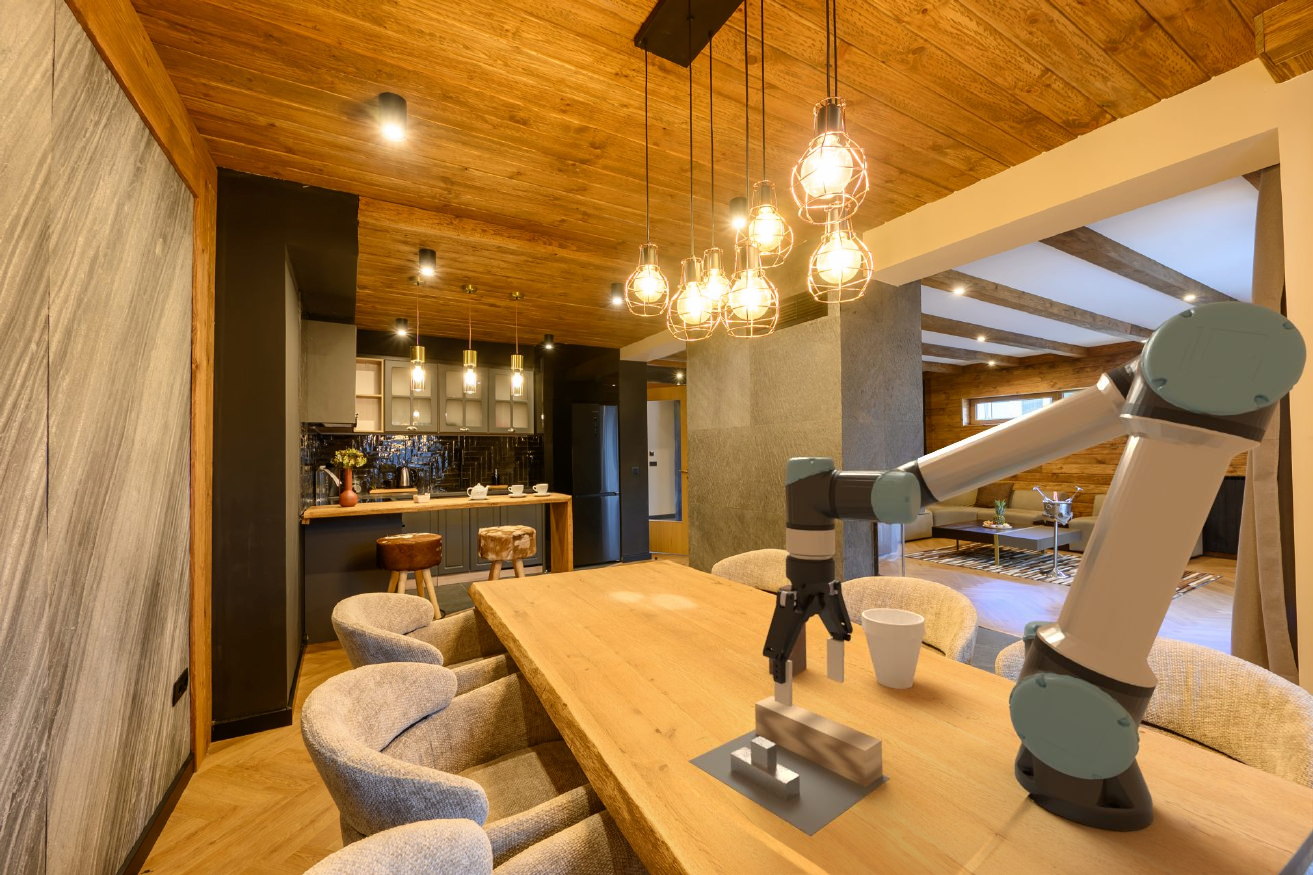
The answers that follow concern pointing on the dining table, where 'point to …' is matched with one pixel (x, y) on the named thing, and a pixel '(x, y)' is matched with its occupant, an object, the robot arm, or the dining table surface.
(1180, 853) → the dining table surface
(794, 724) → the beech bar
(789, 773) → the fulcrum ridge
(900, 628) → the cup
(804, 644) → the wooden block
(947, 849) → the dining table surface
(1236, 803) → the dining table surface
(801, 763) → the slate board
